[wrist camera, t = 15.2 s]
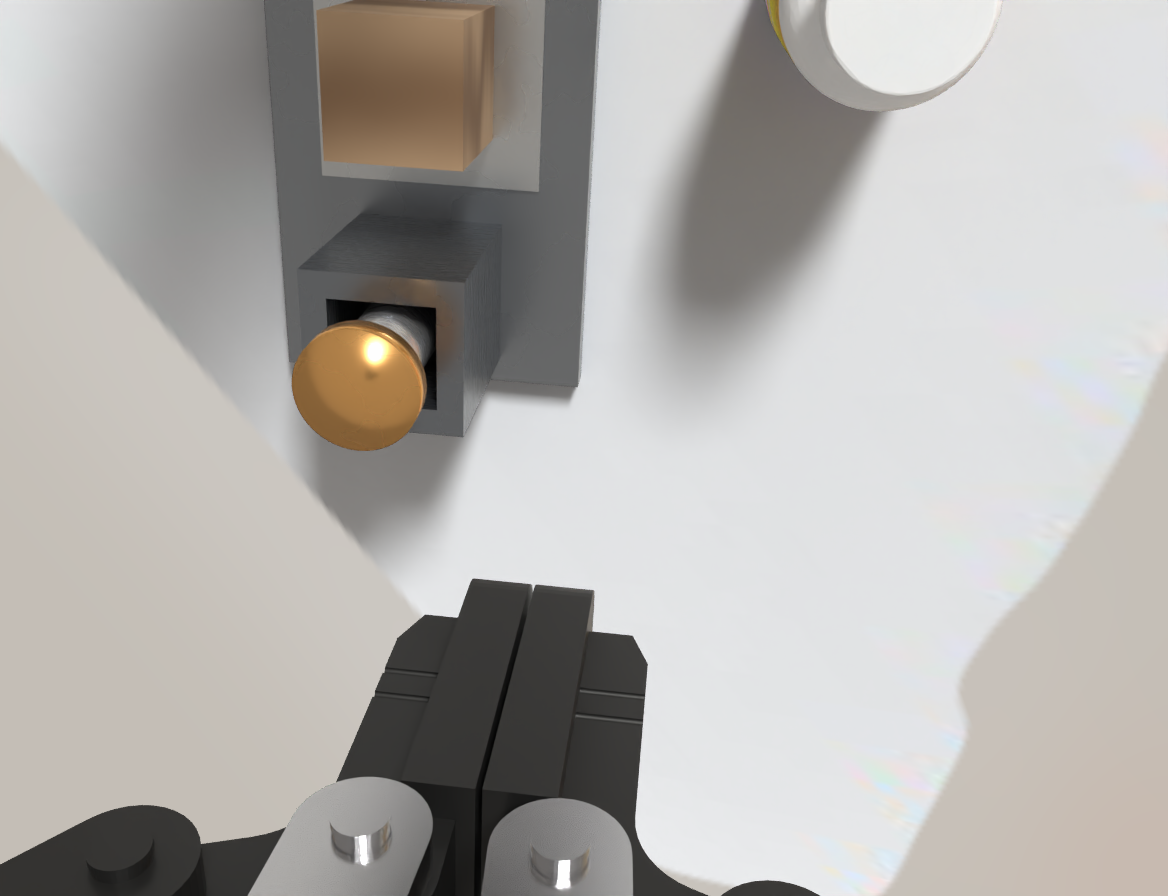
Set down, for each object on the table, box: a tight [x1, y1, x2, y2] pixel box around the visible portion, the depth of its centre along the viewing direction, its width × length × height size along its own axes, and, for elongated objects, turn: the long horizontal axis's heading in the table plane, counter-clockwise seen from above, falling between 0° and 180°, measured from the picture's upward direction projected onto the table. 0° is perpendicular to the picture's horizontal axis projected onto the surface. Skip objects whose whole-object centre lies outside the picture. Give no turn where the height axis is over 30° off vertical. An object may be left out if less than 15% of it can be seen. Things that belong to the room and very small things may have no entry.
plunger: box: [292, 302, 436, 451], centre depth 42 cm, size 4×4×11 cm
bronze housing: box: [316, 0, 495, 172], centre depth 41 cm, size 5×5×6 cm
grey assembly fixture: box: [264, 0, 601, 437], centre depth 42 cm, size 18×13×9 cm
